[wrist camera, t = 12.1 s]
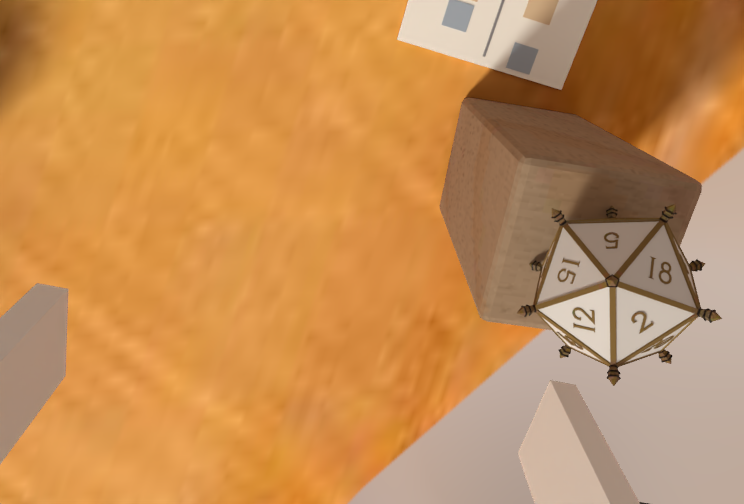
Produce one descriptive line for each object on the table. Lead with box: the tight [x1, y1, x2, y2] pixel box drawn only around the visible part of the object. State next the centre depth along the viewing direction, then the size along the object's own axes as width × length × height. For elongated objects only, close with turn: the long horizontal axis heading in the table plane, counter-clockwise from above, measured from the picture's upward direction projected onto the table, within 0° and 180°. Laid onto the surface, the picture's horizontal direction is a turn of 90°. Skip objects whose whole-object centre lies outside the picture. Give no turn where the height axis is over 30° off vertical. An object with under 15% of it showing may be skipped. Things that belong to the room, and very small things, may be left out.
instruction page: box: [397, 0, 597, 90], centre depth 46 cm, size 10×14×1 cm
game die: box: [517, 203, 722, 386], centre depth 29 cm, size 9×8×10 cm
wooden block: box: [440, 97, 702, 330], centre depth 42 cm, size 10×10×20 cm
